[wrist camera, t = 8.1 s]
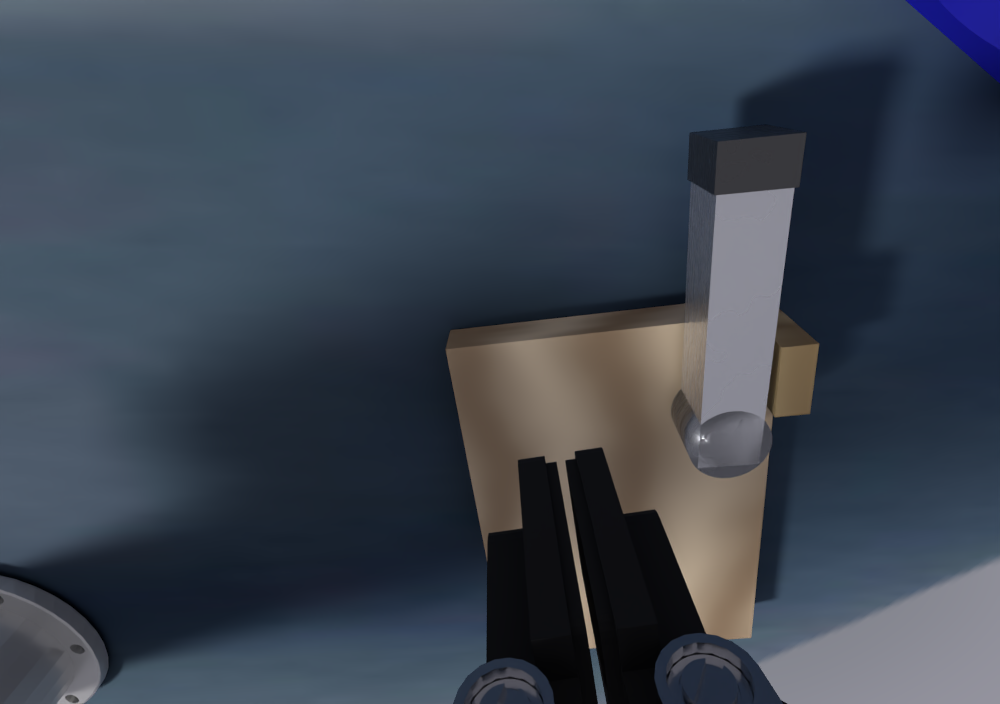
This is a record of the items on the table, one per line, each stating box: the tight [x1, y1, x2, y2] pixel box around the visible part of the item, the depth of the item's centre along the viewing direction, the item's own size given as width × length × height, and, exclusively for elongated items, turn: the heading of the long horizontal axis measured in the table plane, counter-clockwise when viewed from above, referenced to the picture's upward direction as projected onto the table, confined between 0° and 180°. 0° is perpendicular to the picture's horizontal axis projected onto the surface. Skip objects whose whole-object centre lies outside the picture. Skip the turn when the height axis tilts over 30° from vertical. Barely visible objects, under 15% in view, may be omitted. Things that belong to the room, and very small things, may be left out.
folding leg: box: [671, 125, 807, 478], centre depth 21 cm, size 13×3×3 cm, turn 6°
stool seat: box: [446, 304, 819, 648], centre depth 27 cm, size 14×20×5 cm
